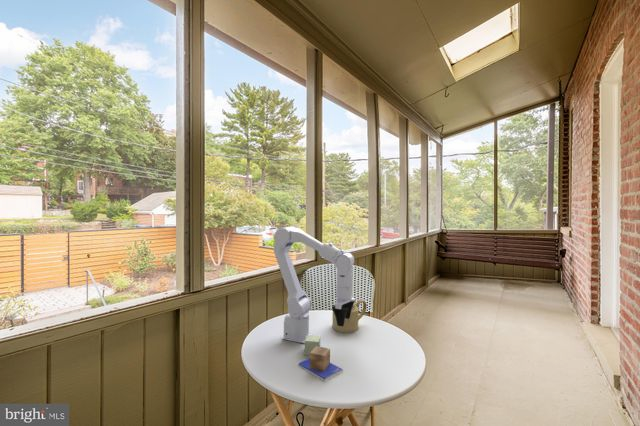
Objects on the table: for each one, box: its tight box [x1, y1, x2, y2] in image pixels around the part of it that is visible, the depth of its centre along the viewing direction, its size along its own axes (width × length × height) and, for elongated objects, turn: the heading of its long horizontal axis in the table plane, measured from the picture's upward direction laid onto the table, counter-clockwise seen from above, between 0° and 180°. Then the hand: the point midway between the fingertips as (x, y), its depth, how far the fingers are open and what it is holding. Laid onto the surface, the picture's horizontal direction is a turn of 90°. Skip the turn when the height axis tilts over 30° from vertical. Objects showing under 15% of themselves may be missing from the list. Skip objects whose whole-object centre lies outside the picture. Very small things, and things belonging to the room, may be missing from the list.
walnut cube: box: [309, 346, 331, 371], centre depth 104 cm, size 5×5×5 cm
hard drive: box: [298, 357, 344, 382], centre depth 104 cm, size 2×8×12 cm
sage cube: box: [304, 334, 321, 356], centre depth 115 cm, size 5×5×5 cm
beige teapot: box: [332, 299, 367, 333], centre depth 138 cm, size 15×11×15 cm
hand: (343, 321), depth 119 cm, fingers open, 7 cm apart
